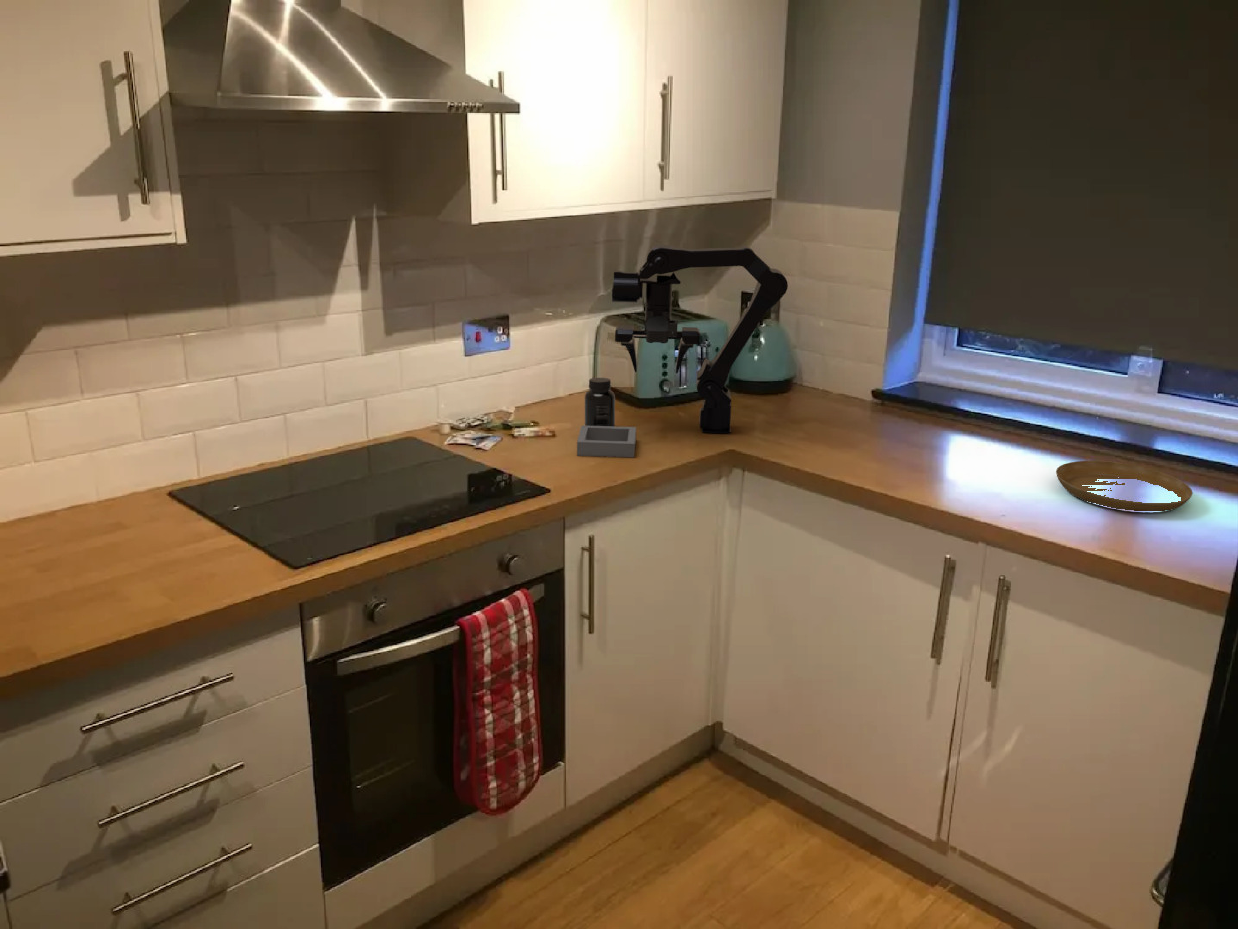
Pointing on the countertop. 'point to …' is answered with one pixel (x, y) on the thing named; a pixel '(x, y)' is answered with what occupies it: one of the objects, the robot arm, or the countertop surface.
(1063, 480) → the plant saucer
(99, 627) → the countertop surface
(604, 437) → the holder
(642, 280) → the robot arm
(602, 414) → the supplement bottle
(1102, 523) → the countertop surface
